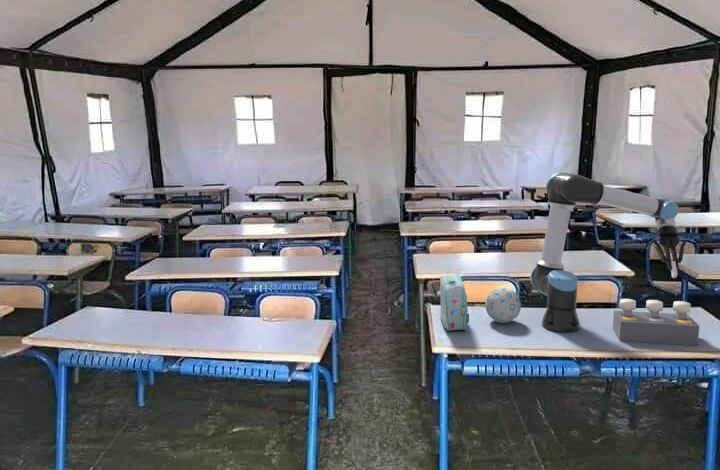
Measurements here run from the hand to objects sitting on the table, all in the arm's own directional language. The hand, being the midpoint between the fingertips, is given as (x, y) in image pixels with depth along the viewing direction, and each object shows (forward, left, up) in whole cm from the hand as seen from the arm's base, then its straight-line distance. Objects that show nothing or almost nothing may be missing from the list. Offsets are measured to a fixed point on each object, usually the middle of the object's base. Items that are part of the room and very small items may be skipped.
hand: (674, 276), depth 238 cm
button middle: (-10, -12, -16) cm, 22 cm away
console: (-10, -14, -22) cm, 28 cm away
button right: (0, -12, -16) cm, 20 cm away
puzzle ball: (-69, -6, -22) cm, 73 cm away
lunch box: (-90, -13, -22) cm, 94 cm away
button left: (-20, -12, -16) cm, 28 cm away
